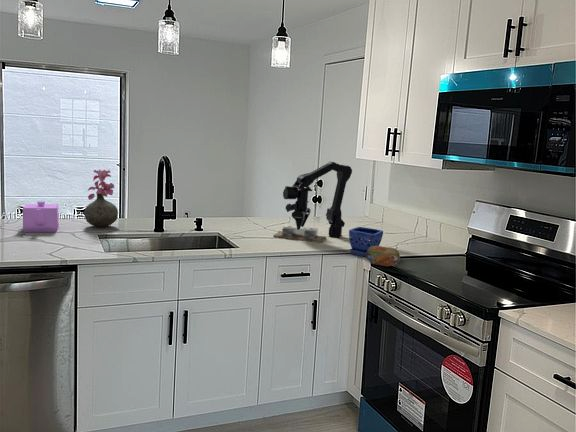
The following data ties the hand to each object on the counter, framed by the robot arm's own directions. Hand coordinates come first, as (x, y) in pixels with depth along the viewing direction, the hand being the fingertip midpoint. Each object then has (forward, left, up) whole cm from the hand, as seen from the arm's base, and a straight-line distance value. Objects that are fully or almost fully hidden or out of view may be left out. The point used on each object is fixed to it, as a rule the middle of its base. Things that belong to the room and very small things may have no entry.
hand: (300, 228), depth 287 cm
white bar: (0, 0, -3) cm, 3 cm away
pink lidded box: (+121, +51, -6) cm, 131 cm away
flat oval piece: (-47, +38, -6) cm, 61 cm away
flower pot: (-37, +21, -5) cm, 43 cm away
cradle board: (0, 0, -5) cm, 5 cm away
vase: (+101, +30, -5) cm, 106 cm away
